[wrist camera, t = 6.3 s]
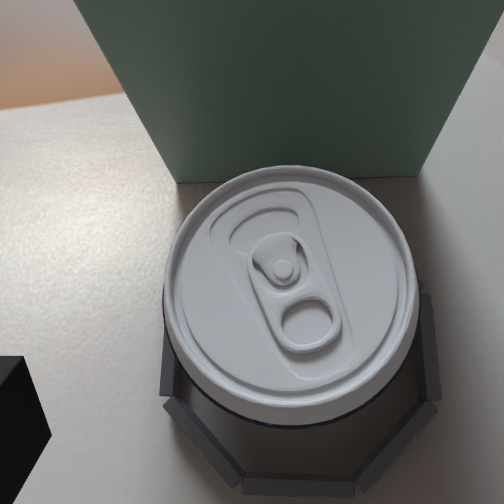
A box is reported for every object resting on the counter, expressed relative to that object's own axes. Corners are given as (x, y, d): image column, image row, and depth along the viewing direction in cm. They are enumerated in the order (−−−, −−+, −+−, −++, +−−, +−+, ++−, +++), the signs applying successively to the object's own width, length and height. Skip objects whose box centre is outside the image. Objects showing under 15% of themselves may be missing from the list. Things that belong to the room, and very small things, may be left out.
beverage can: (324, 265, 21) (354, 108, 10) (381, 382, 19) (500, 356, 8) (211, 313, 21) (109, 209, 10) (258, 436, 19) (201, 487, 8)
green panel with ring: (452, 495, 18) (1303, 1014, 3) (153, 484, 19) (-415, 804, 4) (415, 149, 23) (650, -362, 7) (177, 157, 24) (-35, -270, 9)
